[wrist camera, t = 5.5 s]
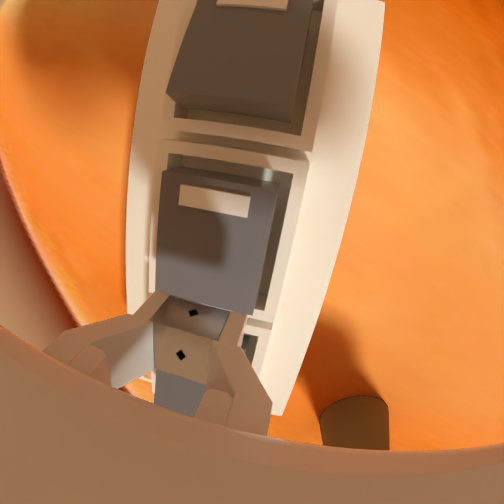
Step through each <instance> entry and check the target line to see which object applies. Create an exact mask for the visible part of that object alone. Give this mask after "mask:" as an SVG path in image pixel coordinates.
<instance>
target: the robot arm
mask: <svg viewBox="0 0 504 504" xmlns="http://www.w3.org/2000/svg"><path fill="white" fill-rule="evenodd" d="M246 322H247V314H243V313H238V312H233V311H228V310H224V309H220V308H216V307H212V306H208V305H204V304H201V303H198V302H195V301H191V300H188V299H185V298H181V297H178V296H175V295H171V294H169V293H165V292H162V291H155V292H154V293H153V294H152V295H151V296H150V297H149V298H148V299H147V300H146V301H145V302H144V303H143V304H142V306H141V307H140V308H139V309H138V310H137V311H136V312H135V313H134V314H133V315H131V314H126V315H122V316H118V317H115V318H111V319H107V320H104V321H100V322H96V323H93V324H89V325H85V326H81V327H78V328H74V329H70V330H66V331H64V332H63V333H61V334H60V335H59V336H58V337H57V338H56V339H55V340H54V341H53V342H52V343H51V344H50V345H49V346H48V347H47V348H45V350H43V351H40V350H39V349H37V348H35V347H34V346H32V345H30V344H29V343H27V342H26V341H24V340H22V339H21V338H19V337H18V336H16V335H15V334H13V333H11V332H10V331H8V330H7V329H5V328H4V327H2V326H1V325H0V504H504V443H501V444H495V445H488V446H480V447H471V448H461V449H448V450H428V451H387V450H366V449H352V448H341V447H332V446H324V445H316V444H309V443H302V442H296V441H290V440H284V439H278V438H273V437H268V436H267V432H268V427H269V421H270V415H271V410H272V404H273V403H272V401H271V399H270V397H269V396H268V394H267V392H266V390H265V389H264V387H263V385H262V383H261V382H260V380H259V378H258V376H257V375H256V373H255V371H254V369H253V367H252V366H251V364H250V362H249V360H248V358H247V357H246V355H245V353H244V351H243V349H242V348H241V345H242V341H243V336H244V332H245V327H246ZM154 368H155V369H158V370H161V371H164V372H168V373H171V374H174V375H178V376H181V377H184V378H186V379H189V380H192V381H195V382H198V383H201V384H205V385H206V388H207V390H206V391H205V393H204V395H203V398H202V400H201V402H200V404H199V407H198V409H197V411H196V414H195V416H194V417H191V416H188V415H185V414H182V413H179V412H176V411H173V410H170V409H167V408H164V407H161V406H158V405H156V404H153V403H150V402H148V401H145V400H143V399H140V398H137V397H135V396H132V395H130V394H128V393H125V392H123V391H120V390H118V388H120V387H122V386H124V385H126V384H128V383H130V382H132V381H134V380H136V379H137V378H139V377H141V376H143V375H145V374H147V373H149V372H150V371H152V370H154Z"/></svg>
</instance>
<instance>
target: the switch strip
mask: <svg viewBox="0 0 504 504" xmlns="http://www.w3.org/2000/svg"><path fill="white" fill-rule="evenodd" d="M197 2H198V0H159V2H158V5H157V9H156V12H155V16H154V20H153V24H152V28H151V32H150V36H149V41H148V45H147V50H146V55H145V59H144V64H143V70H142V75H141V80H140V86H139V92H138V98H137V105H136V112H135V119H134V127H133V135H132V144H131V154H130V165H129V177H128V192H127V213H126V292H127V313H128V314H131V315H133V314H134V313H135V312H136V311H137V310H138V309H139V308H140V307H141V306H142V304H143V303H144V302H145V301H146V300H147V299H148V298H149V297H150V296H151V295H152V294H153V293H154V292H155V271H156V245H157V227H158V212H159V199H160V188H161V177H162V171H164V170H167V169H171V168H174V167H178V166H182V167H189V168H196V169H202V170H208V171H215V172H221V173H226V174H232V175H238V176H243V177H249V178H254V179H259V180H265V181H270V182H275V183H280V189H279V194H278V199H277V204H276V209H275V214H274V219H273V224H272V229H271V235H270V240H269V245H268V250H267V254H266V259H265V264H264V269H263V274H262V279H261V284H260V289H259V294H258V298H257V301H256V305H255V309H254V312H253V316H251V315H247V322H246V327H245V332H244V335H246V336H250V339H249V343H248V347H247V352H246V357H247V358H248V360H249V362H250V364H251V366H252V367H253V369H254V371H255V373H256V375H257V376H258V378H259V380H260V382H261V383H262V385H263V387H264V389H265V390H266V392H267V394H268V396H269V397H270V399H271V401H272V403H273V404H272V410H271V414H273V415H279V416H282V413H283V411H284V409H285V406H286V404H287V401H288V399H289V396H290V394H291V391H292V388H293V386H294V383H295V381H296V378H297V375H298V373H299V370H300V367H301V365H302V362H303V359H304V356H305V354H306V351H307V348H308V345H309V342H310V340H311V337H312V334H313V331H314V328H315V325H316V322H317V319H318V316H319V313H320V310H321V307H322V304H323V301H324V297H325V294H326V291H327V288H328V285H329V281H330V278H331V275H332V271H333V268H334V265H335V261H336V258H337V254H338V251H339V247H340V243H341V240H342V236H343V233H344V229H345V225H346V221H347V217H348V213H349V210H350V206H351V202H352V197H353V193H354V189H355V185H356V181H357V176H358V172H359V167H360V163H361V158H362V154H363V149H364V144H365V139H366V134H367V129H368V124H369V118H370V113H371V107H372V101H373V95H374V89H375V83H376V76H377V70H378V63H379V55H380V47H381V39H382V30H383V20H384V10H385V2H382V1H378V0H313V4H312V13H311V21H310V27H309V32H308V38H307V43H306V48H305V54H304V59H303V65H302V70H301V75H300V80H299V86H298V91H297V96H296V101H295V107H294V112H293V117H292V122H291V123H287V122H282V121H277V120H271V119H265V118H259V117H252V116H246V115H239V114H231V113H223V112H215V111H206V110H195V109H184V108H180V107H179V106H178V105H177V104H176V103H175V102H174V101H173V100H172V99H171V98H170V97H169V96H168V95H167V94H166V93H165V92H166V89H167V86H168V83H169V79H170V76H171V73H172V70H173V67H174V64H175V61H176V58H177V55H178V52H179V49H180V46H181V43H182V40H183V38H184V35H185V32H186V30H187V27H188V24H189V22H190V19H191V17H192V14H193V12H194V9H195V7H196V4H197ZM204 305H205V304H204ZM208 306H209V305H208ZM212 307H213V306H212ZM216 308H217V307H216ZM220 309H221V308H220ZM224 310H225V309H224ZM228 311H230V310H228ZM233 312H234V311H233ZM139 378H140V379H142V380H145V381H148V382H151V383H152V392H153V393H154V394H155V382H156V369H155V368H154V370H152V371H150V372H149V373H147V374H145V375H143V376H141V377H139Z"/></svg>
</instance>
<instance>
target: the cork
mask: <svg viewBox="0 0 504 504" xmlns="http://www.w3.org/2000/svg"><path fill="white" fill-rule="evenodd" d="M319 424H320V430H321V435H322V441H323V445H324V446H332V447H341V448H352V449H366V450H387V451H389V411H388V406H387V405H386V403H385V402H384V401H383V400H380V399H378V398H376V397H371V396H353V397H349V398H345V399H342V400H340V401H338V402H335V403H333V404H331V405H330V406H329V407H328V408H326V409H325V410H324V411H323V413H322V414H321V416H320V422H319Z"/></svg>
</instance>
